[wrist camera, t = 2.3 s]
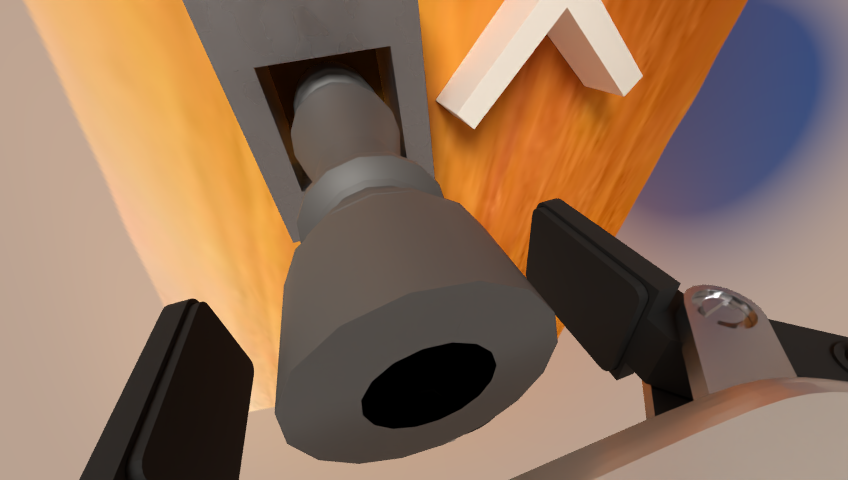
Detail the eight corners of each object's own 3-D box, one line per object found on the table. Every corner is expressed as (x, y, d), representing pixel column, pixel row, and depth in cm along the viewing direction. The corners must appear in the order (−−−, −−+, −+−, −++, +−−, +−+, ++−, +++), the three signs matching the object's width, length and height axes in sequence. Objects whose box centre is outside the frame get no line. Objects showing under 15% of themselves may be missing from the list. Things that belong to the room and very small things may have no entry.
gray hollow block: (204, -12, 20) (173, -19, 15) (390, -34, 22) (413, -46, 17) (295, 206, 29) (293, 242, 25) (417, 177, 32) (437, 205, 27)
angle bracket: (425, -25, 23) (450, -33, 19) (624, -50, 26) (681, -61, 22) (436, 116, 29) (457, 132, 25) (596, 83, 32) (637, 93, 28)
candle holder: (310, 149, 27) (326, 496, 8) (281, 69, 23) (167, 355, 4) (380, 133, 28) (551, 404, 9) (363, 53, 24) (598, 219, 5)
